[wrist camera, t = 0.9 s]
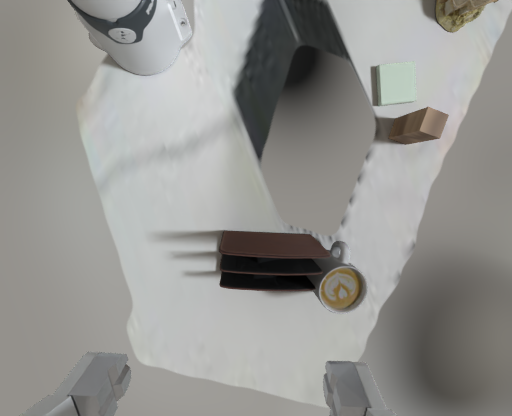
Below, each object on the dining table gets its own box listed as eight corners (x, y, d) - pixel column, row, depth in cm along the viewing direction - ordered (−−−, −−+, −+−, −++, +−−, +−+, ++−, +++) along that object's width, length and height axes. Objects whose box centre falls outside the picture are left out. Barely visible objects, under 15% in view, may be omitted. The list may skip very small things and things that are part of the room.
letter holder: (223, 230, 52) (217, 249, 38) (310, 233, 54) (336, 254, 40) (221, 273, 54) (215, 307, 40) (306, 275, 55) (330, 309, 41)
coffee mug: (333, 295, 57) (355, 320, 47) (297, 282, 56) (310, 305, 46) (356, 245, 56) (383, 260, 46) (319, 230, 54) (338, 242, 45)
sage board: (376, 67, 51) (379, 64, 49) (410, 63, 51) (415, 61, 50) (378, 106, 52) (381, 104, 51) (412, 102, 52) (416, 100, 51)
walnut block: (388, 138, 53) (419, 130, 44) (395, 118, 53) (428, 106, 44) (405, 144, 54) (439, 138, 45) (412, 125, 53) (448, 115, 44)
